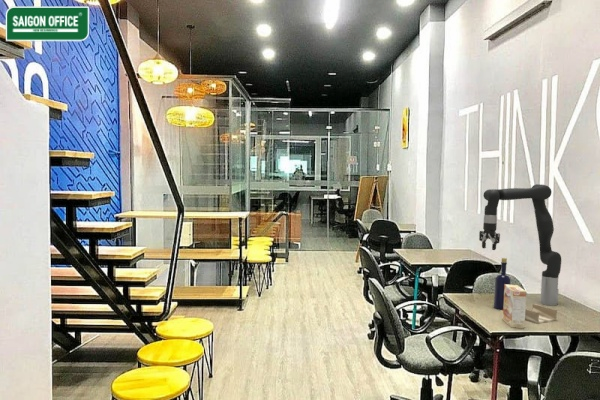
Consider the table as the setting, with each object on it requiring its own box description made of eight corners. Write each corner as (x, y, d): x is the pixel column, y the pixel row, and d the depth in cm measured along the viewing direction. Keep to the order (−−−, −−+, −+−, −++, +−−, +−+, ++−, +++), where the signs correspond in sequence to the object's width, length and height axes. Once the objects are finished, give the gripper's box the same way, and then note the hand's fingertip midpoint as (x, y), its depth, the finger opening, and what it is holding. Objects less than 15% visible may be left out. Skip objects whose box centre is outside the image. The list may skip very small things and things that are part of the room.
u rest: (534, 314, 288) (534, 303, 287) (556, 320, 275) (556, 309, 275) (514, 316, 280) (515, 306, 280) (536, 323, 268) (537, 312, 268)
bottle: (511, 311, 293) (514, 260, 291) (494, 309, 295) (497, 259, 293) (508, 307, 302) (510, 257, 300) (492, 305, 304) (494, 256, 302)
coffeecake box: (502, 319, 275) (504, 284, 274) (515, 320, 274) (517, 284, 273) (510, 327, 260) (512, 290, 259) (525, 328, 259) (527, 291, 258)
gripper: (504, 223, 302) (502, 250, 302) (485, 221, 314) (483, 247, 315) (495, 223, 298) (493, 251, 299) (476, 221, 311) (475, 247, 312)
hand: (488, 249), depth 307 cm, fingers open, 7 cm apart
